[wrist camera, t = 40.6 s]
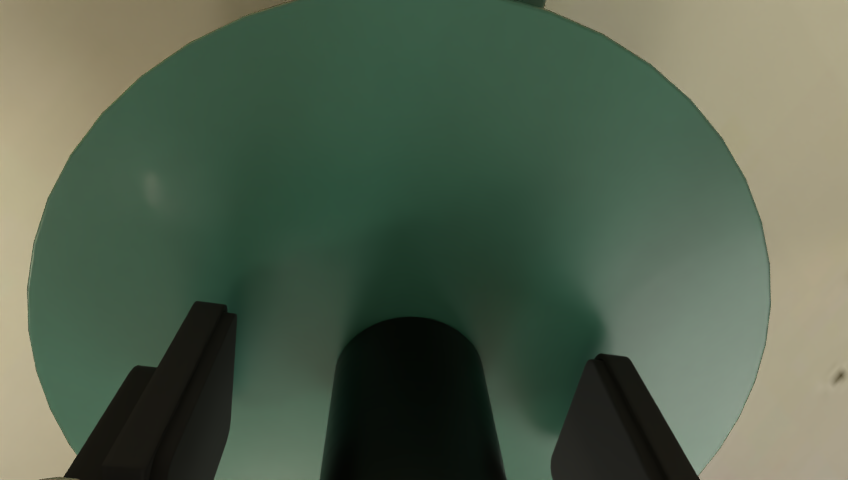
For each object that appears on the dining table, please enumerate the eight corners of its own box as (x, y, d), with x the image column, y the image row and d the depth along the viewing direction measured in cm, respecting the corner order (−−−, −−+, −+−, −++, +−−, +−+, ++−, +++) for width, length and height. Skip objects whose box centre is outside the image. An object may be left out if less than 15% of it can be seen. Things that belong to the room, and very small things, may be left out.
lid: (77, 542, 15) (-123, 915, 9) (21, -102, 9) (-662, -200, 3) (617, 586, 17) (735, 925, 11) (871, 68, 11) (1437, 207, 5)
